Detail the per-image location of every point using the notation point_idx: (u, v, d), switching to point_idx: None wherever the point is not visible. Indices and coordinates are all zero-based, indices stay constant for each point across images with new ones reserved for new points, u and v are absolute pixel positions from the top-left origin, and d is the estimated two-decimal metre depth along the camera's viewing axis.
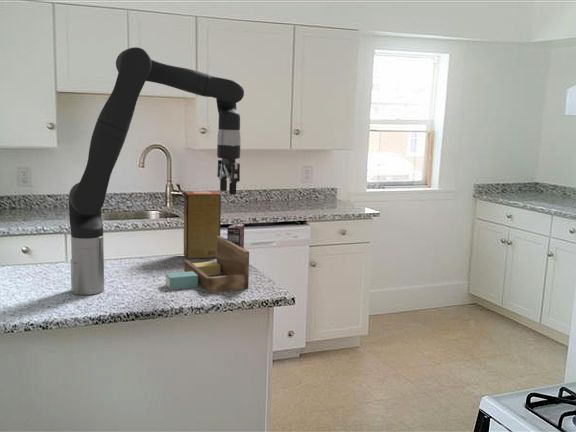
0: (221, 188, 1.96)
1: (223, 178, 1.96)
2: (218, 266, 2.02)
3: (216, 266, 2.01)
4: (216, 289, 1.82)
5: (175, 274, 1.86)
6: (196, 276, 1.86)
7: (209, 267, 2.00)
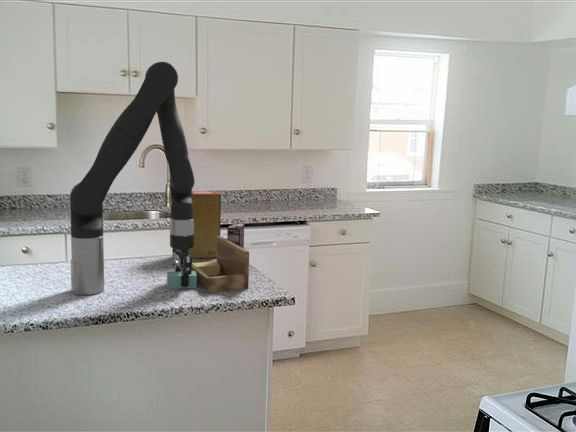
0: None
1: (178, 268, 1.89)
2: (218, 266, 2.01)
3: (215, 266, 2.01)
4: (216, 289, 1.82)
5: (175, 273, 1.87)
6: (195, 276, 1.85)
7: (208, 267, 2.00)
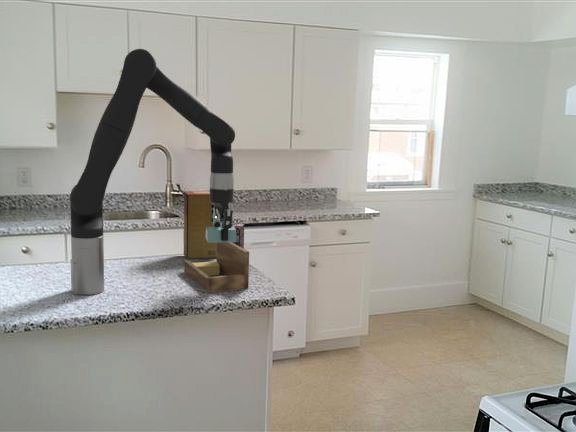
0: None
1: (217, 223, 1.89)
2: (217, 267, 2.01)
3: (215, 267, 2.01)
4: (216, 289, 1.82)
5: (214, 228, 1.87)
6: (234, 230, 1.85)
7: (208, 267, 2.00)
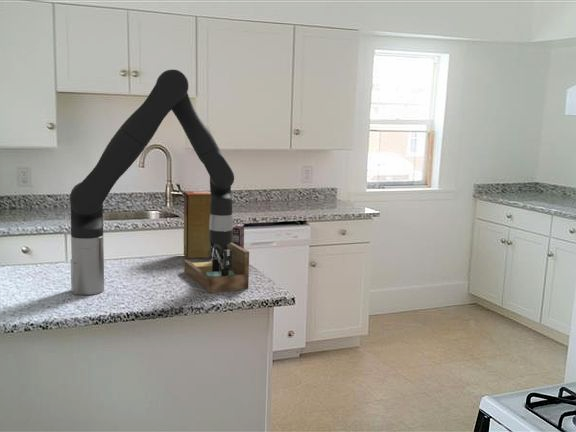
0: (213, 271, 1.92)
1: (215, 260, 1.92)
2: None
3: None
4: (216, 289, 1.82)
5: (214, 273, 1.89)
6: None
7: (208, 267, 2.00)
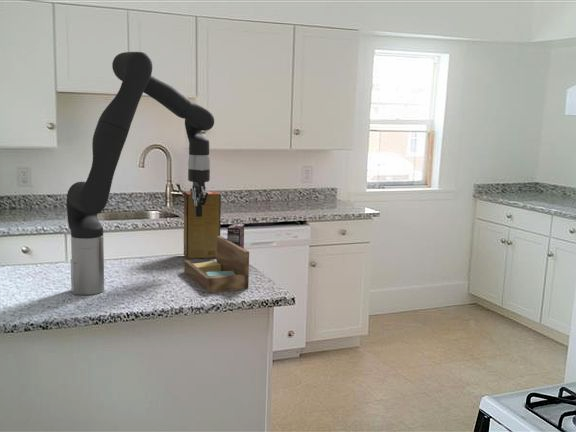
0: None
1: None
2: (219, 266, 2.02)
3: (217, 266, 2.02)
4: (216, 289, 1.82)
5: (214, 273, 1.89)
6: None
7: (211, 267, 2.01)
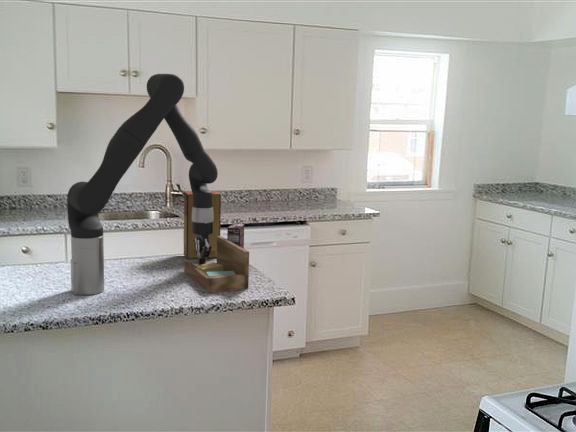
0: None
1: None
2: (221, 266, 2.02)
3: (219, 267, 2.02)
4: (216, 289, 1.82)
5: (215, 273, 1.89)
6: None
7: (214, 268, 2.00)
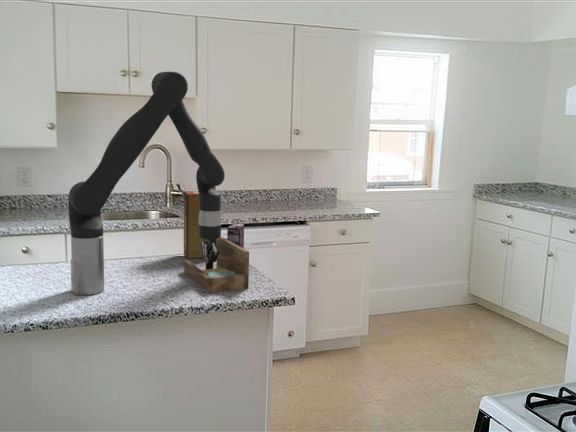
0: None
1: None
2: None
3: None
4: (216, 289, 1.82)
5: (215, 273, 1.89)
6: None
7: None
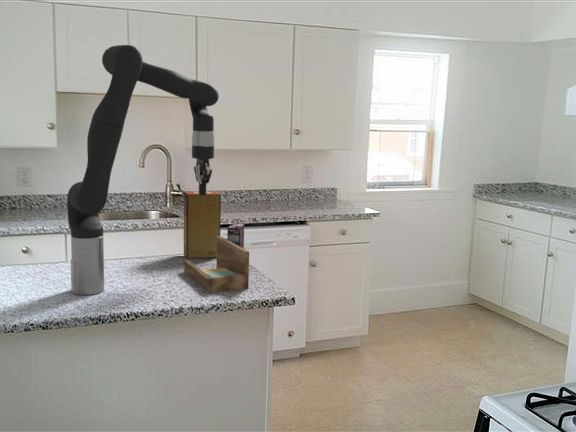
0: None
1: None
2: None
3: None
4: (216, 289, 1.82)
5: (216, 274, 1.88)
6: None
7: None
